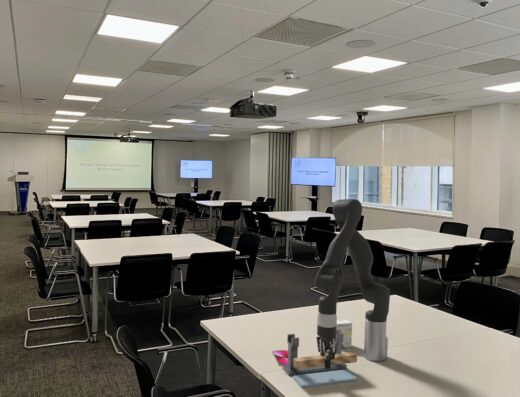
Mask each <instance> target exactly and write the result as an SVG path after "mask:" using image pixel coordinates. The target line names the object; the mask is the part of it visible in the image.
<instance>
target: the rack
mask: <svg viewBox="0 0 520 397" xmlns="http://www.w3.org/2000/svg"><path fill="white" fill-rule="evenodd" d="M338 332H339V330H336V336H335V337H334V338H333V346H334V347H336V348H337V351H336V354H339V353H343V352H342V351H343V348H342V342H343V335H344V334H343V333H342V334H338ZM286 343H287V344H288V345H287V351H288V364H286V365H282V366H281V368H282V369H283V371H284V372H285V373H286V375H287V376H289V377H290V376H296V375H305V374H313V373H321V372H329V371H338V370H346V369H347V370H348V365H347V363H346V364H337V365H331V368H330V369H325V366H319V367H310V368H301V369H296V368H295V367H294V366H293V359H294V358H298V353H299V351H298V350H299V347H300V338H299V337H296V334H295V333H289V334H287V338H286Z"/></svg>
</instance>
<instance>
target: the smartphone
mask: <svg viewBox="0 0 520 397" xmlns="http://www.w3.org/2000/svg"><path fill="white" fill-rule="evenodd" d="M272 356H273V358H274V359H275V362H276V364H277V365H278V366H279V367H282V365H286V364H288V349H287V350H286V349H285V350H282V349H281V350H279V349H278V350H272Z"/></svg>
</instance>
